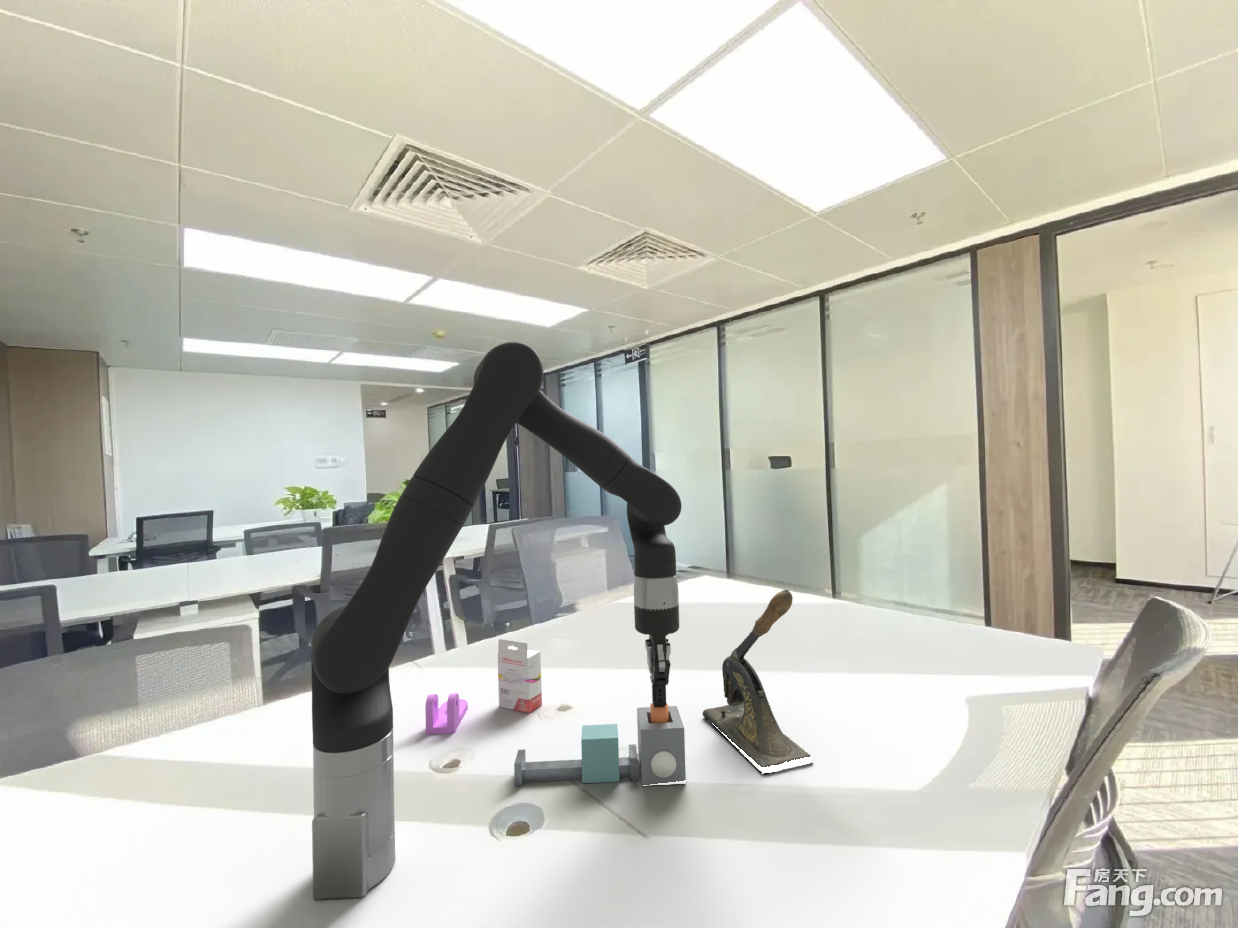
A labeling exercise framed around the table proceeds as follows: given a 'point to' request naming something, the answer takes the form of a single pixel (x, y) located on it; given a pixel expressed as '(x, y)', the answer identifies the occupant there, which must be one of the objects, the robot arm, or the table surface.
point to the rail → (566, 768)
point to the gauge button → (659, 714)
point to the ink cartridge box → (519, 676)
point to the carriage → (600, 753)
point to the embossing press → (753, 699)
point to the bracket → (444, 714)
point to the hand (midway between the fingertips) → (659, 704)
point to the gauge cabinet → (661, 747)
